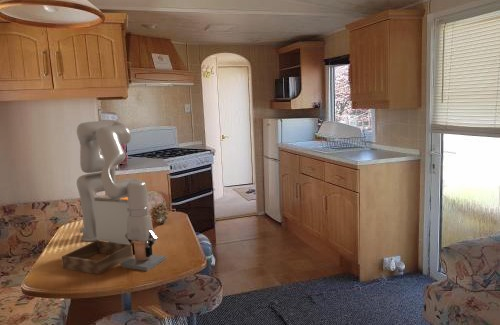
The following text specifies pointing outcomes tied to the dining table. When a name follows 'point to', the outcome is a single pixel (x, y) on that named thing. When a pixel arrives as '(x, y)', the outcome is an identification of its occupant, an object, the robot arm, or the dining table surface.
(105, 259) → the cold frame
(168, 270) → the dining table surface
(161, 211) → the pine cone
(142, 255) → the terracotta pot
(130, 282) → the dining table surface
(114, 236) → the frame lid
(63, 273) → the dining table surface
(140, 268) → the slate tile
